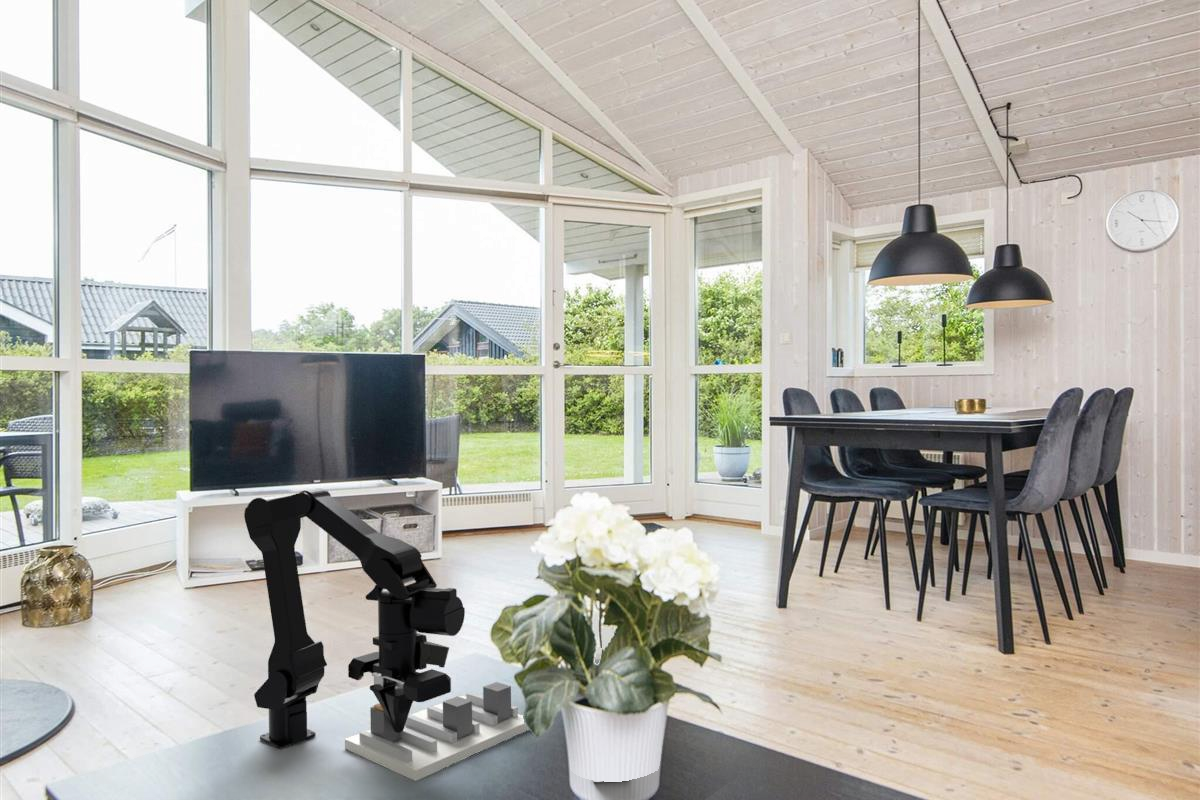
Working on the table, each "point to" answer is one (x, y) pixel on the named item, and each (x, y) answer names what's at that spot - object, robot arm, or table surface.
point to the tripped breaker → (382, 724)
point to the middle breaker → (458, 716)
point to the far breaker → (497, 700)
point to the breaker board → (435, 740)
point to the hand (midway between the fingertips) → (398, 731)
